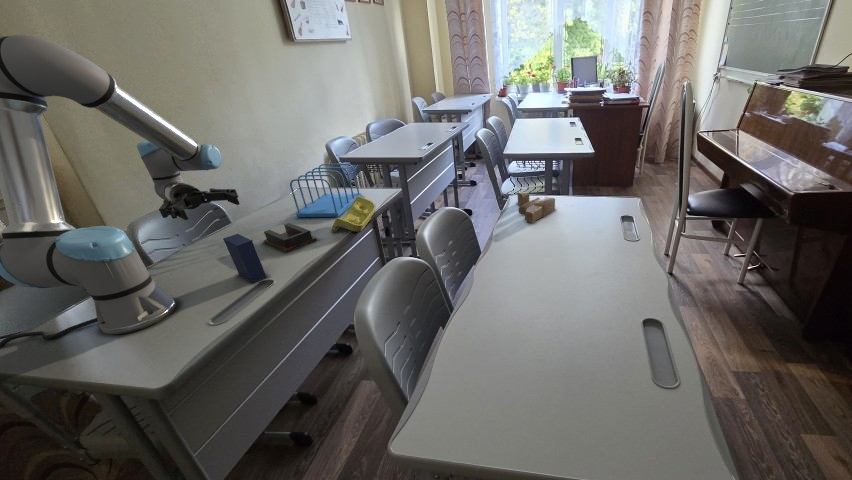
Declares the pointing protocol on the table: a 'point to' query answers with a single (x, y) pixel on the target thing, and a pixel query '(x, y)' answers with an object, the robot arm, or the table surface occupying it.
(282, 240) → the dark brown block holder
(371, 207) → the plastic component
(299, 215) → the file sorter
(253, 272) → the navy blue rectangular block
